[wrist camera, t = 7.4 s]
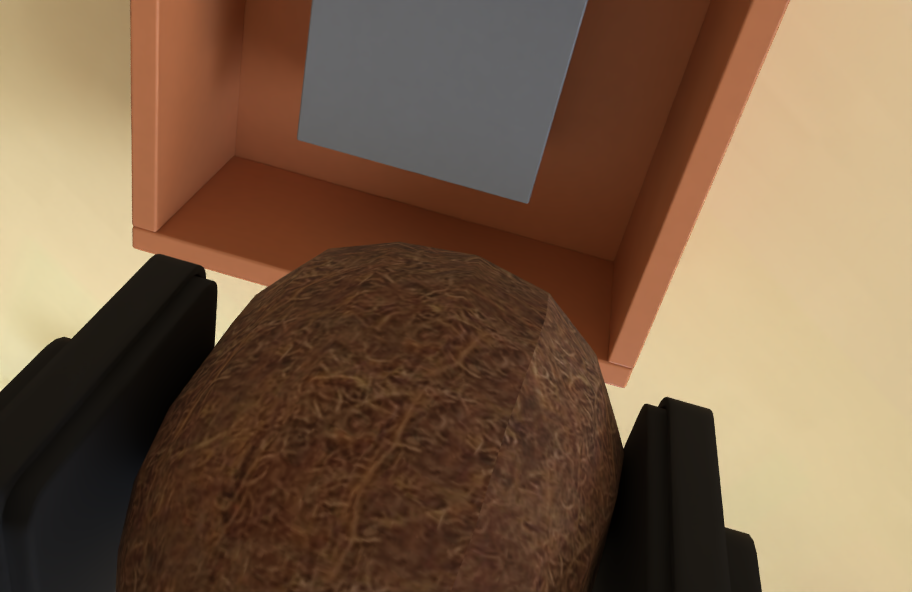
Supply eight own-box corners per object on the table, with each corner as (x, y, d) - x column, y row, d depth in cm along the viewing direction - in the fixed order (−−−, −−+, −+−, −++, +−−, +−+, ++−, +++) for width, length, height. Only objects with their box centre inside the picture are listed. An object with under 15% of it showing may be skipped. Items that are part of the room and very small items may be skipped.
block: (373, -139, 25) (324, -119, 21) (608, -77, 24) (601, -46, 21) (341, 89, 28) (295, 140, 25) (543, 145, 28) (528, 204, 24)
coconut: (316, 423, 15) (48, 969, 8) (259, 149, 12) (-207, 628, 5) (623, 445, 14) (601, 1088, 7) (634, 150, 11) (619, 742, 4)
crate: (250, -357, 23) (124, -390, 17) (819, -212, 22) (875, -199, 17) (220, 162, 32) (131, 248, 26) (628, 277, 31) (625, 390, 25)
